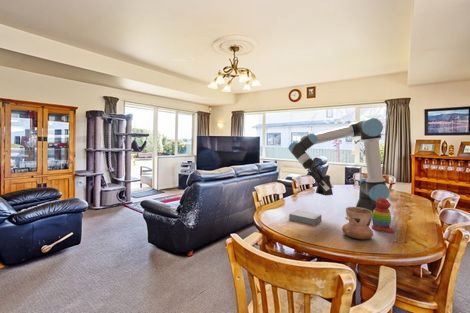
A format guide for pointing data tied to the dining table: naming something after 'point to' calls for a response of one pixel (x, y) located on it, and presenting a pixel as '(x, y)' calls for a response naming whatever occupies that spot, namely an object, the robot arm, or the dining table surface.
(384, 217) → the stacking bear
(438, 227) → the dining table surface
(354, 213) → the ceramic jug
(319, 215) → the plinth
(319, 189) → the black tapered block
